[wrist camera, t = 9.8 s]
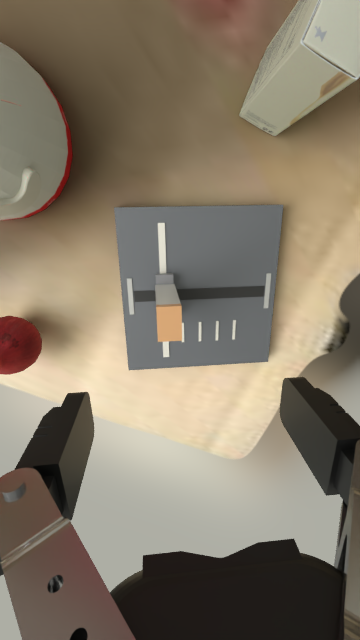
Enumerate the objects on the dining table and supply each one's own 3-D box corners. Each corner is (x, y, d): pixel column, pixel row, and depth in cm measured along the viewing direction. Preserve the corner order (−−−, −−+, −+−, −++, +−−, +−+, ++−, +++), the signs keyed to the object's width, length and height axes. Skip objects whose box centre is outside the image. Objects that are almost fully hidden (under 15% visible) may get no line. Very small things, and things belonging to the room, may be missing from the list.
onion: (-12, 314, 32) (-61, 344, 25) (39, 301, 32) (5, 328, 25) (11, 359, 34) (-28, 400, 27) (58, 347, 34) (32, 384, 27)
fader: (173, 273, 30) (181, 293, 23) (174, 317, 32) (182, 351, 24) (154, 273, 30) (155, 294, 22) (156, 318, 32) (158, 352, 24)
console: (277, 205, 31) (283, 204, 29) (263, 356, 37) (268, 362, 36) (116, 207, 30) (114, 207, 28) (129, 364, 36) (128, 370, 34)
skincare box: (274, 138, 29) (356, 88, 17) (236, 116, 28) (296, 48, 16) (308, 65, 27) (424, -43, 16) (269, 39, 26) (361, -97, 15)
